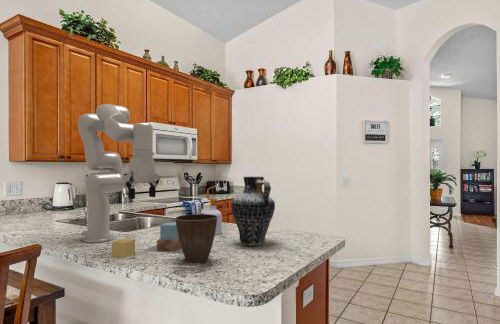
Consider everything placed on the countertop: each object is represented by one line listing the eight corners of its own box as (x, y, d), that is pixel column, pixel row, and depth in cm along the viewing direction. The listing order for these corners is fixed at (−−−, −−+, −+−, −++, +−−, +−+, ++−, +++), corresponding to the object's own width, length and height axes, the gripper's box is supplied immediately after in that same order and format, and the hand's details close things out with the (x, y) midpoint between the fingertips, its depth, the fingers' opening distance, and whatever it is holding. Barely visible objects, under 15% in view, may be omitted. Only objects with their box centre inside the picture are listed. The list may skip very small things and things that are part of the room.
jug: (222, 243, 143) (221, 176, 144) (252, 237, 157) (252, 175, 157) (255, 252, 128) (255, 176, 129) (286, 244, 142) (285, 176, 143)
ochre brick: (111, 258, 121) (111, 242, 121) (121, 254, 127) (121, 238, 127) (125, 259, 119) (125, 242, 119) (135, 255, 125) (135, 239, 125)
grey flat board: (143, 252, 129) (143, 250, 129) (158, 245, 140) (158, 243, 140) (184, 255, 124) (184, 253, 124) (196, 247, 136) (196, 246, 136)
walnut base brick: (156, 250, 130) (156, 240, 130) (166, 245, 137) (166, 236, 137) (175, 251, 128) (175, 241, 128) (183, 246, 135) (183, 237, 135)
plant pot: (179, 270, 106) (179, 221, 106) (171, 258, 120) (171, 215, 120) (222, 264, 112) (222, 218, 112) (210, 254, 126) (210, 213, 126)
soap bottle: (220, 235, 162) (220, 186, 162) (202, 235, 162) (202, 186, 162) (222, 231, 171) (222, 185, 171) (205, 231, 171) (205, 185, 171)
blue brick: (167, 236, 136) (167, 222, 136) (180, 237, 135) (180, 223, 135) (160, 239, 130) (160, 224, 130) (173, 240, 129) (173, 225, 129)
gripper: (154, 155, 137) (153, 195, 136) (117, 153, 122) (116, 199, 122) (166, 155, 132) (165, 196, 132) (129, 153, 118) (129, 200, 118)
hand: (142, 197), depth 127 cm, fingers open, 9 cm apart
